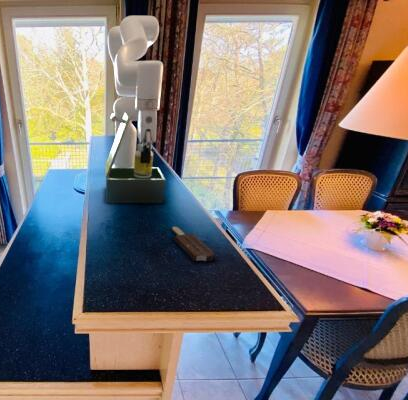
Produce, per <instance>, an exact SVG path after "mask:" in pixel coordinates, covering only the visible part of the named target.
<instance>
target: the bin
mask: <svg viewBox="0 0 408 400" xmlns="http://www.w3.org/2000/svg"><path fill="white" fill-rule="evenodd" d="M166 181H167V180H166V178H165V175H164V174H163V173H162V171H161V169H160V168H159V167H152V173H151V176H150V177H149V178H138V177H136V176H134V168H132V167H112V169H111V171H110V174H109V177H108V178H106V177H105V203H106V204H164V198H165V190H166Z"/></svg>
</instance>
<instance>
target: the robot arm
mask: <svg viewBox="0 0 408 400" xmlns="http://www.w3.org/2000/svg"><path fill="white" fill-rule="evenodd" d="M159 33H160V25H159V20H158V18H156V17H155V16H153V15H128V16H126V17H124V18H123V19H122V20H121V22H120V24H119V25H116V26H113V27H111V28H110V29H109V30H108V34H107V48H108V53H109V56H110V59H111V61H112V65H113V72H114V84H115V85H114V87H115V91H116V94H117V95H118V96H120V97H119V98H117V99H116V100H115V101H114V103H113V114H115V115H116V117H119V118H122V119H123V116H124V114H125V112H126V113H127V114H128V115H129V117H130V121H129V124H128V127H127V129H126V132H125V134H124V137H123V140H122V142H121V145H120V148H119V150H118V153H117V155H116V158H115V161H114V163H113V166H112V167H132V168H134V162H135V152H136V151H137V140H138V144H142V151H141V158H140V162H141V163H150V157H151V151H152V149H151V145H152V143H153V144H154V143H156V141H157V127H158V111H160V107H161V106H160V105H161V96H162V83H163V73H164V63H163V62H162V61H160V60H139V59H141V58H142V57H143V56H145V55H146V54H147V51H148V48H149V47H150V46H152V45H153V44H154V43H156V41H157V39H158V37H159ZM134 121H135V122H136V121H137V128H136V127H135V126H134V124H133V122H134ZM120 124H121V122H118V121H115V122H114V139H115V138H116V135H117V133H118V130H119V127H120ZM137 138H138V139H137ZM144 144H145V145H144Z"/></svg>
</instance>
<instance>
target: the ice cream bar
mask: <svg viewBox="0 0 408 400" xmlns="http://www.w3.org/2000/svg"><path fill="white" fill-rule="evenodd" d="M171 230H172V231H173V232H174V233H175V234H176V235H174V238H173V240H174V242H175V243H176V244H177V245H178V246H179V247H180V248H181V249H182V250H183V251H184V252H185V253H186V254H187V256H189V257H190V258H191V260H192V261H193V262H200V261H202V262H205V263H208V262H211V261H213V260H214V258H215V252H214V251H213V250H212V249H211V248H210V247H209V246H208V245H207V244H205V243H204V242H203V241H202V240H201V239H200V238H199V237H198V236H196V234H194V233H193V232H189V233H184V231H182V230H181V229H180V228H179V227H177V226H172V228H171Z"/></svg>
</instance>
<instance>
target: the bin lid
mask: <svg viewBox="0 0 408 400" xmlns="http://www.w3.org/2000/svg"><path fill="white" fill-rule="evenodd" d="M110 120H111V122H113V123H115V121H118V122H121V124H120V127H119V130H118V133H117V135H116V138H115V137H114V141H113V144H112V147H111V149H110V152H109V154H108V157H107V160H106V163H105V165H104V167H105V169H104V170H105V173H104V175H105V179H106V178H108V177H109V174H110V171H111V169H112V166H113V164H115V158H116V155H117V153H118V150H119V148H120V145H121V142H122V140H123V137H124V134H125V132H126V129H127V127H128V124H129V121H130V117H129V115H128V114H127V113H126V112H125V114H124V116H123V119H122V118H119V117H116V115H115V114H114V113H111V115H110Z"/></svg>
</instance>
